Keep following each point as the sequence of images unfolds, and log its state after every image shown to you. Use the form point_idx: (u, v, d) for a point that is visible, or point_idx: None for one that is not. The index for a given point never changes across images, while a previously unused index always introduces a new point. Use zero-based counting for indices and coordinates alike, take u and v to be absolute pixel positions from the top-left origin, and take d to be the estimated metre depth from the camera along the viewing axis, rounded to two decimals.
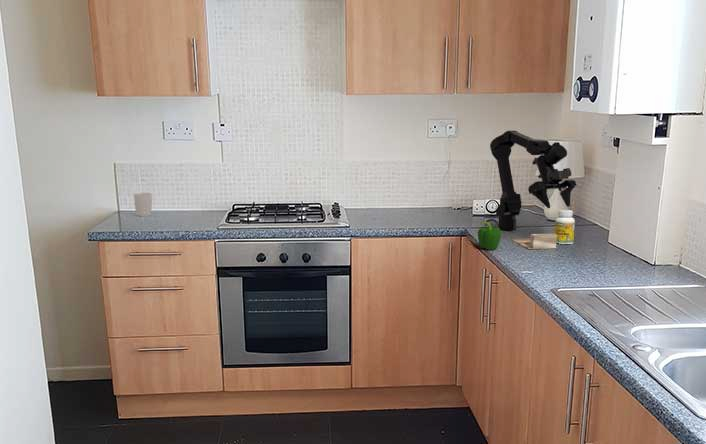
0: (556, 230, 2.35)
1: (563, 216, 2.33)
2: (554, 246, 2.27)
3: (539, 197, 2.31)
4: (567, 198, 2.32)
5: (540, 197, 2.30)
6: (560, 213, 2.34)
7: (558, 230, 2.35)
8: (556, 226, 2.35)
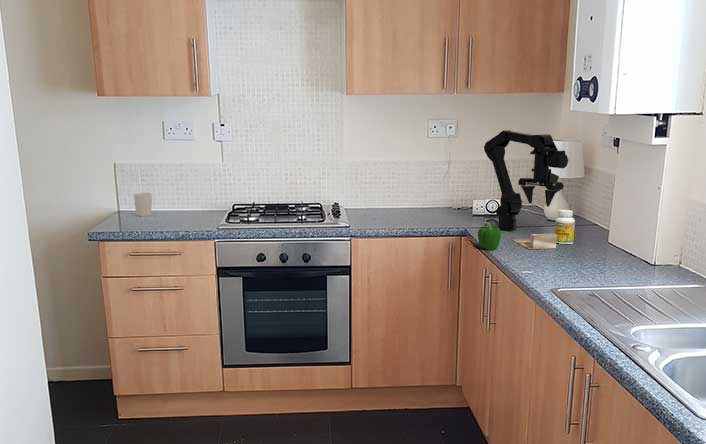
0: (556, 230, 2.35)
1: (563, 216, 2.33)
2: (554, 246, 2.27)
3: (549, 194, 2.39)
4: (531, 195, 2.50)
5: (549, 195, 2.40)
6: (560, 213, 2.34)
7: (558, 230, 2.35)
8: (556, 226, 2.35)
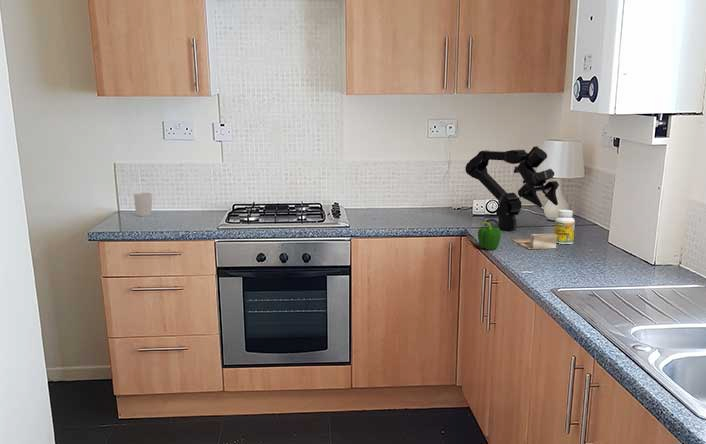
0: (556, 230, 2.35)
1: (563, 216, 2.33)
2: (554, 246, 2.27)
3: (529, 199, 2.41)
4: (554, 197, 2.45)
5: (530, 198, 2.41)
6: (560, 213, 2.34)
7: (558, 230, 2.35)
8: (556, 226, 2.35)
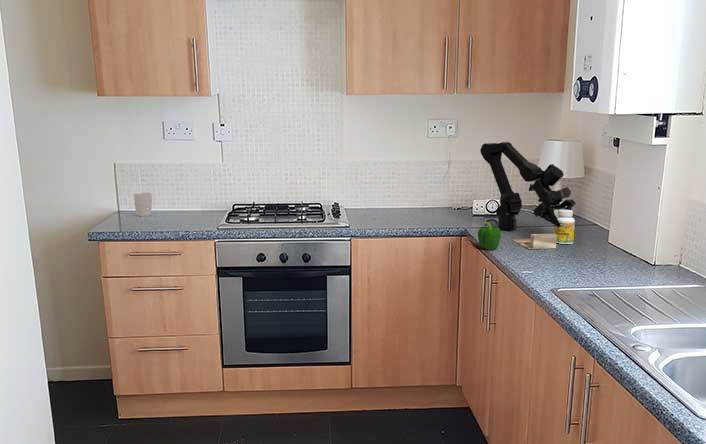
0: (556, 230, 2.35)
1: (563, 216, 2.33)
2: (554, 246, 2.27)
3: (547, 218, 2.36)
4: None
5: (548, 218, 2.36)
6: (560, 213, 2.34)
7: (558, 230, 2.35)
8: (556, 226, 2.35)
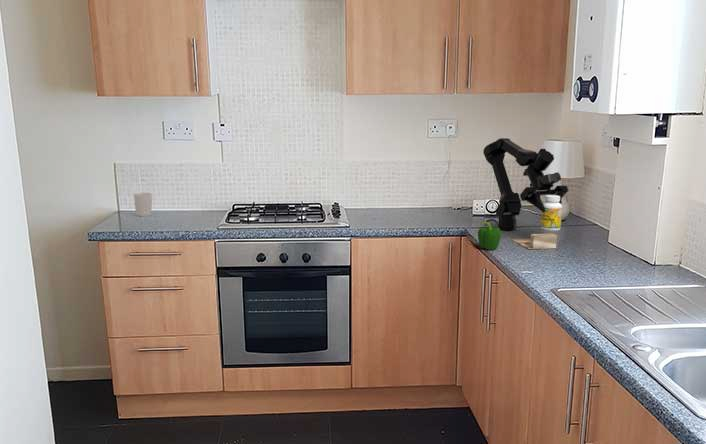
0: (542, 215, 2.32)
1: (549, 201, 2.30)
2: (554, 246, 2.27)
3: (533, 203, 2.33)
4: None
5: (534, 202, 2.33)
6: (546, 198, 2.30)
7: (543, 216, 2.31)
8: None
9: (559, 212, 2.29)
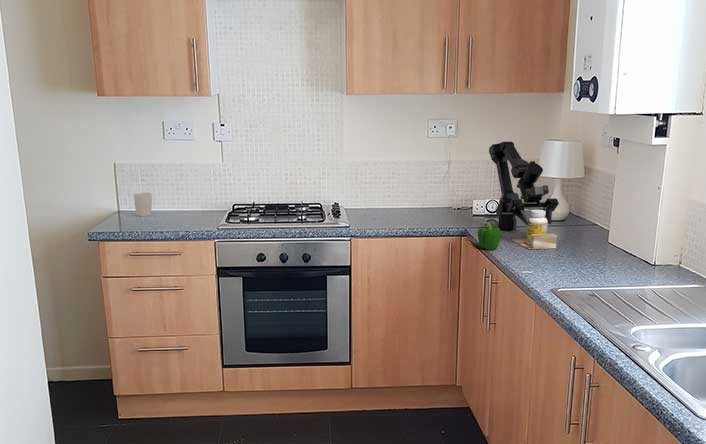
0: (527, 230, 2.33)
1: (533, 216, 2.30)
2: (554, 246, 2.27)
3: (518, 215, 2.34)
4: (548, 215, 2.33)
5: (519, 215, 2.34)
6: (531, 213, 2.31)
7: (528, 230, 2.32)
8: None
9: (543, 227, 2.29)
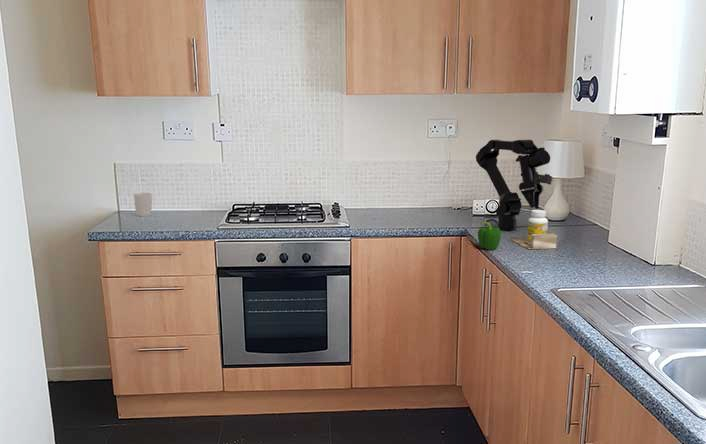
0: None
1: (533, 216, 2.30)
2: (554, 246, 2.27)
3: (525, 195, 2.40)
4: (537, 201, 2.49)
5: (526, 195, 2.40)
6: (531, 213, 2.31)
7: (528, 230, 2.32)
8: (528, 226, 2.33)
9: (543, 227, 2.29)
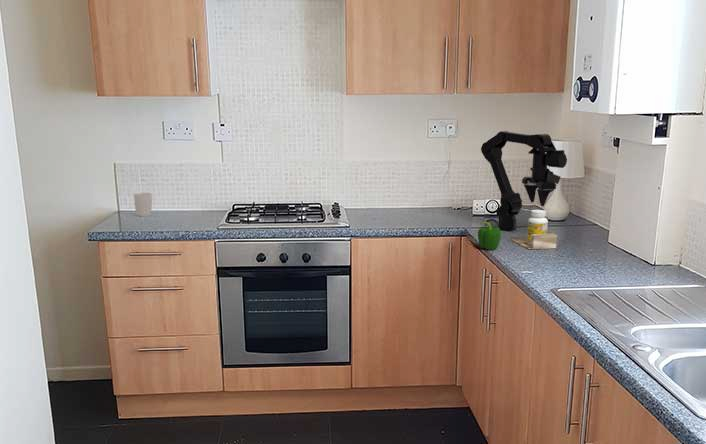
0: None
1: (533, 216, 2.30)
2: (554, 246, 2.27)
3: (541, 194, 2.41)
4: (534, 194, 2.52)
5: (542, 194, 2.41)
6: (531, 213, 2.31)
7: (528, 230, 2.32)
8: (528, 226, 2.33)
9: (543, 227, 2.29)
